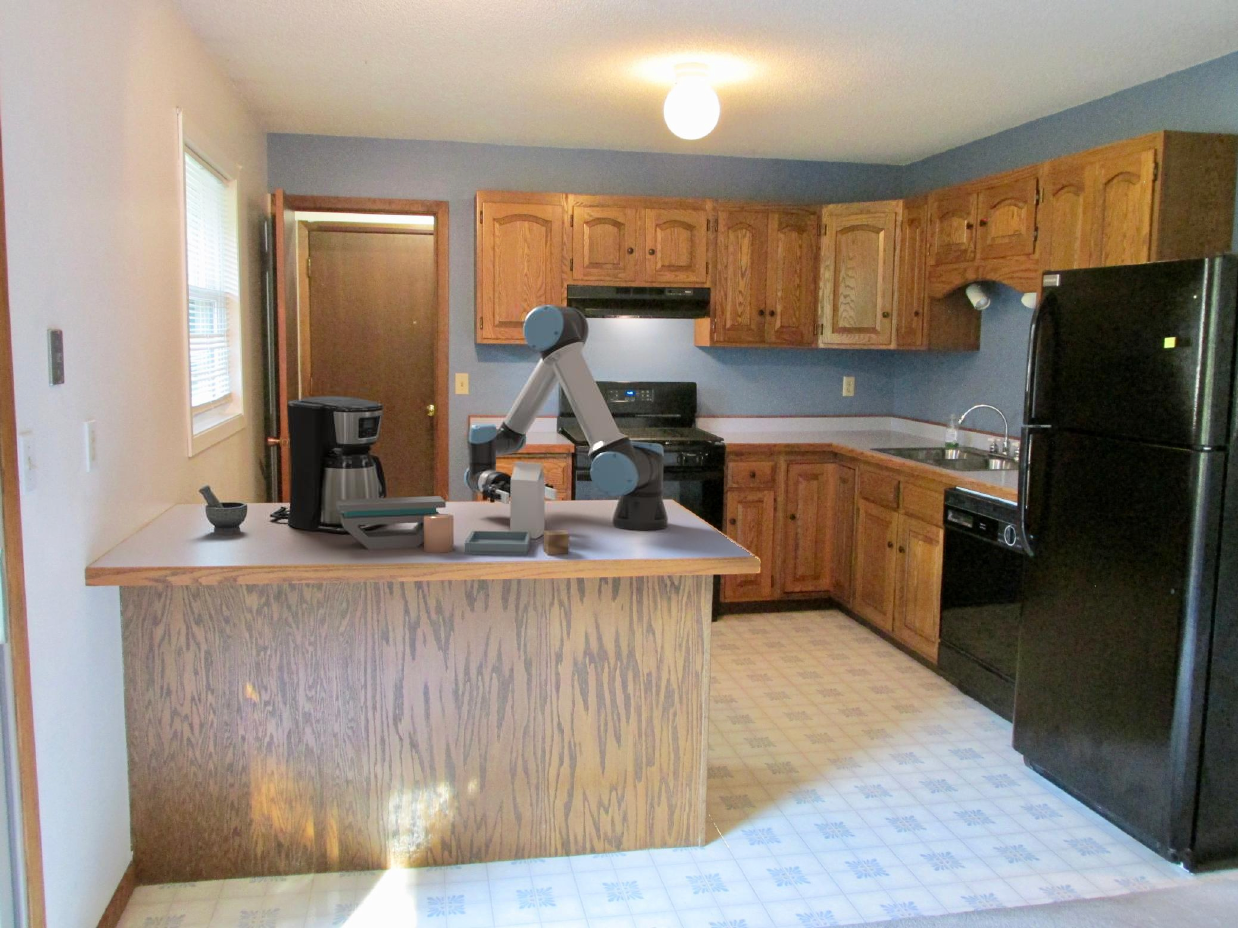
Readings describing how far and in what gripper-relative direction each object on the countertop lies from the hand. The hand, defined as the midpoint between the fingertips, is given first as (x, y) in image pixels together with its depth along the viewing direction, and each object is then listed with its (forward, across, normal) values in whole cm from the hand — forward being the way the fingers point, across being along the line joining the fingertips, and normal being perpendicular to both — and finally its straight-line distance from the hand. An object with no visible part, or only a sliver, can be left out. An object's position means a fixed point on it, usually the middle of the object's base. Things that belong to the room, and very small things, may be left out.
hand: (532, 497), depth 251 cm
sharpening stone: (-7, +35, -11) cm, 37 cm away
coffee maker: (-39, +39, -11) cm, 56 cm away
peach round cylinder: (+3, +26, -10) cm, 28 cm away
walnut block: (+18, +2, -11) cm, 21 cm away
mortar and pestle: (-38, +67, -11) cm, 78 cm away
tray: (+7, +13, -10) cm, 18 cm away
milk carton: (-3, 0, -11) cm, 11 cm away
